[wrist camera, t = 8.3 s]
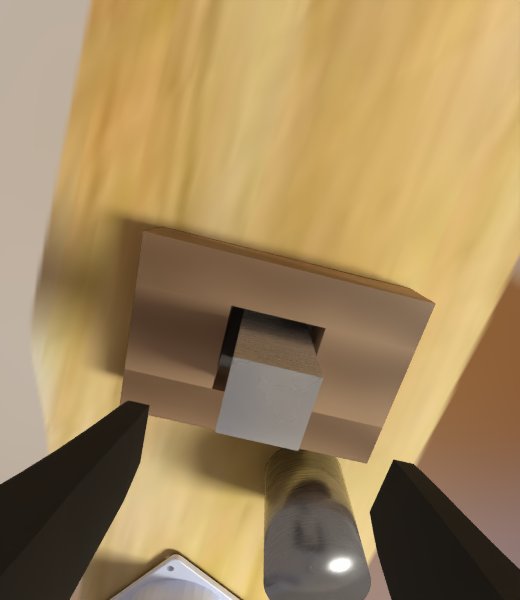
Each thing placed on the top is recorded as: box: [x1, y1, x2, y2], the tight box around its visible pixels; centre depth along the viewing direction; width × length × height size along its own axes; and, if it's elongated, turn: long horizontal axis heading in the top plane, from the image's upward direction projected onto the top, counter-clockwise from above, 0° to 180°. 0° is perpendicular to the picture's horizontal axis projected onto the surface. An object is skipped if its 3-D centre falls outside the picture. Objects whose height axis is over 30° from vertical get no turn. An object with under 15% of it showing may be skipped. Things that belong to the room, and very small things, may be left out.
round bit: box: [264, 448, 371, 600], centre depth 17 cm, size 5×5×6 cm
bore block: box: [120, 227, 435, 463], centre depth 16 cm, size 9×13×2 cm
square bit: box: [215, 309, 323, 451], centre depth 14 cm, size 3×3×6 cm
